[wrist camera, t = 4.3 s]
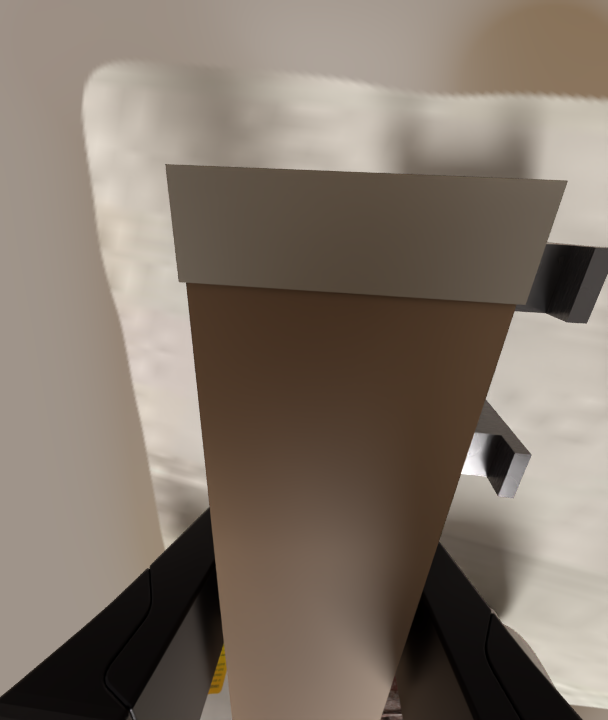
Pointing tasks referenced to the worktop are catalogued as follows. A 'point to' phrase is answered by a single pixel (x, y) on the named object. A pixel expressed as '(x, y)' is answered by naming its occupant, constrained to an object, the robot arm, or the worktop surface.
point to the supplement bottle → (218, 694)
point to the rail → (340, 403)
